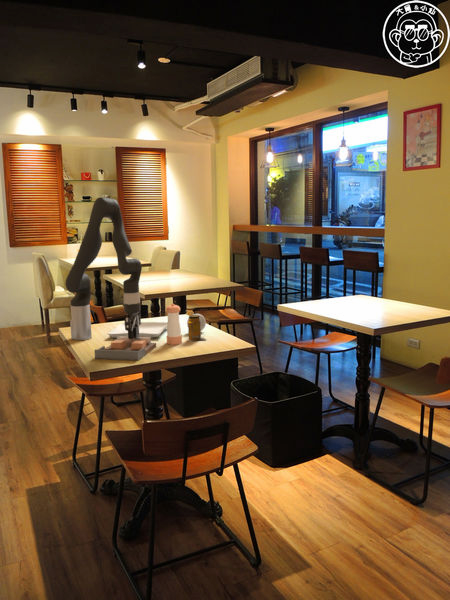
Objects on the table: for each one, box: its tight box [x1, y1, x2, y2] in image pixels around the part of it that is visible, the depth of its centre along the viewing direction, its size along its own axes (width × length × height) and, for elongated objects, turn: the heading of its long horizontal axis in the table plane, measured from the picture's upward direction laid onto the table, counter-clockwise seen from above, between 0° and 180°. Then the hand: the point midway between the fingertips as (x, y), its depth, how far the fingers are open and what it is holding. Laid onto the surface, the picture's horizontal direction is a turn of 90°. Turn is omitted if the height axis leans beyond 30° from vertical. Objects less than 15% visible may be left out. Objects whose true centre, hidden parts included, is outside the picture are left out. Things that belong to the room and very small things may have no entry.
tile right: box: [132, 341, 146, 349], centre depth 238 cm, size 5×5×2 cm
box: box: [94, 345, 146, 362], centre depth 230 cm, size 20×9×4 cm, turn 78°
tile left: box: [110, 339, 126, 348], centre depth 240 cm, size 5×5×2 cm
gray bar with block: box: [116, 326, 152, 345], centre depth 245 cm, size 16×3×8 cm, turn 78°
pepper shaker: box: [165, 303, 183, 346], centre depth 252 cm, size 7×7×19 cm
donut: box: [186, 313, 207, 332], centre depth 274 cm, size 10×4×10 cm, turn 107°
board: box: [105, 342, 157, 356], centre depth 241 cm, size 20×14×2 cm
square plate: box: [107, 321, 168, 339], centre depth 275 cm, size 27×27×4 cm
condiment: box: [186, 314, 207, 342], centre depth 258 cm, size 7×8×12 cm
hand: (133, 336), depth 245 cm, fingers open, 7 cm apart
